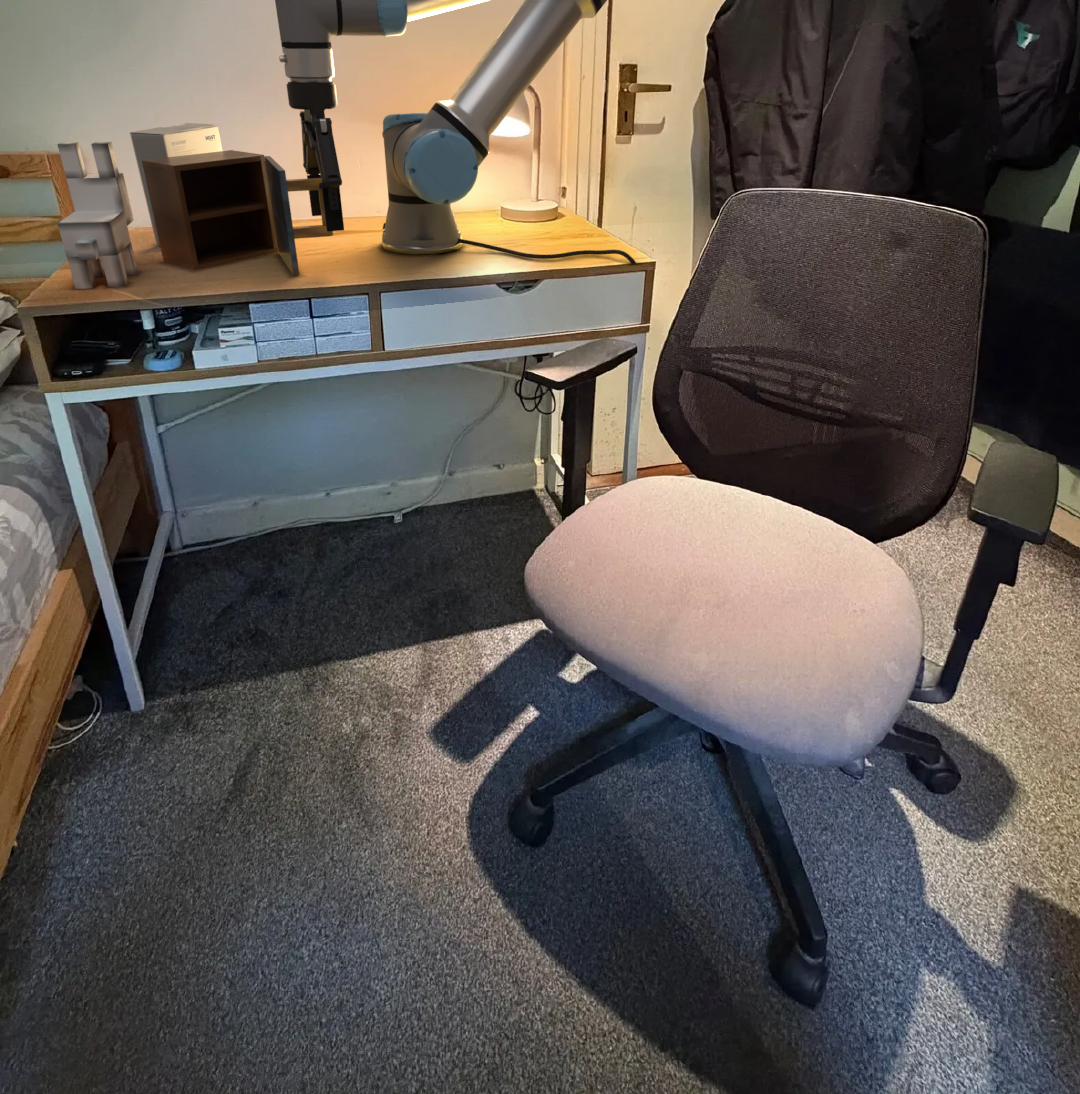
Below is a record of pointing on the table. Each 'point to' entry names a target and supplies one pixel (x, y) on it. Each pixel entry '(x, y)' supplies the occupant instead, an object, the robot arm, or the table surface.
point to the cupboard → (211, 208)
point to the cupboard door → (283, 213)
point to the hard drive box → (172, 148)
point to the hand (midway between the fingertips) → (327, 222)
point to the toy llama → (97, 218)
